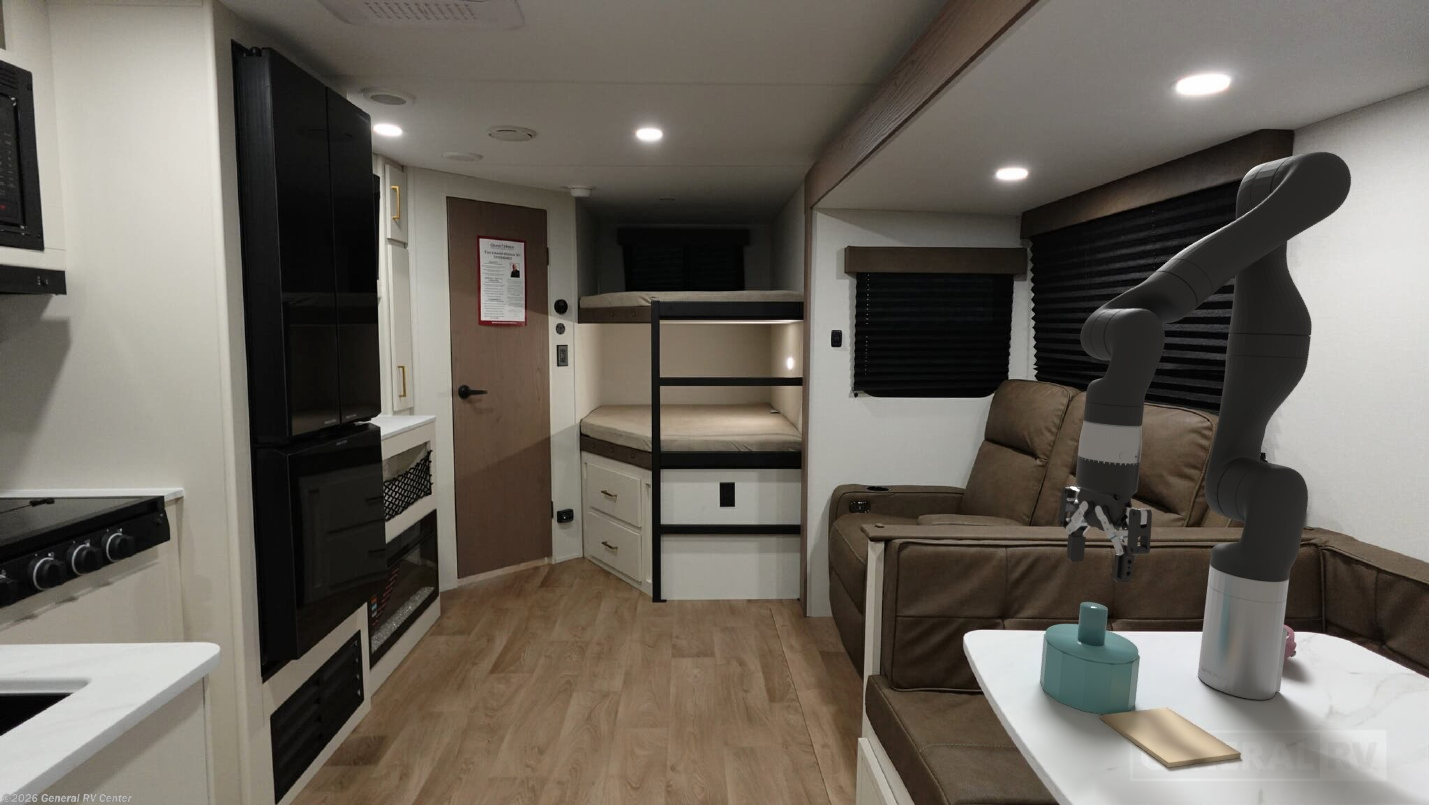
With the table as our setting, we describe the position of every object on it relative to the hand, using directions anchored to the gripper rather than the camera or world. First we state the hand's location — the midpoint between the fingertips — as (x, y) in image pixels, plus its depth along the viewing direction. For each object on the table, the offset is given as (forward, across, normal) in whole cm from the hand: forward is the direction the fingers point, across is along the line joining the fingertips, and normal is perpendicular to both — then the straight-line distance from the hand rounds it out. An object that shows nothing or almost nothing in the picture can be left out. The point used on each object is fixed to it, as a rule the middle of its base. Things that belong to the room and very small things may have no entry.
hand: (1097, 570), depth 100 cm
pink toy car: (+18, +4, -38) cm, 42 cm away
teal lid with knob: (+18, 0, 0) cm, 18 cm away
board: (+18, -12, -2) cm, 21 cm away
